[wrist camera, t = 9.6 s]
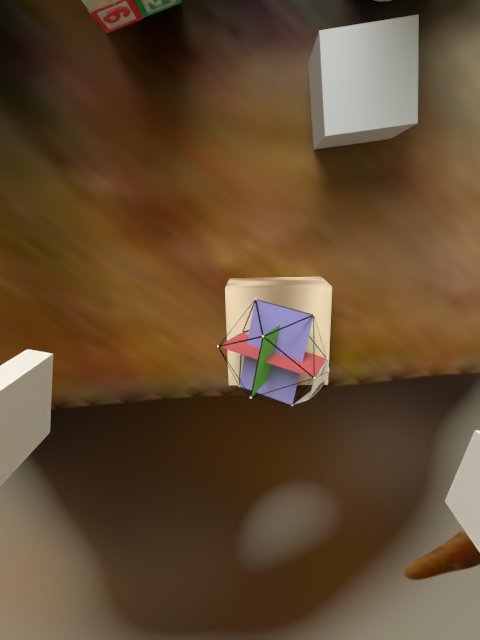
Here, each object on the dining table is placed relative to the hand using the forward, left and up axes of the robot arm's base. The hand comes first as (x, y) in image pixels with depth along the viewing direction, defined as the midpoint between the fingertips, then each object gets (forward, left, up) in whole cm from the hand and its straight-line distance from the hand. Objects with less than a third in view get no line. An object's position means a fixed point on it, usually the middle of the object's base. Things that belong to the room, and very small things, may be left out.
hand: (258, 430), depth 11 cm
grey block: (+4, +16, -22) cm, 27 cm away
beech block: (+2, -2, -22) cm, 22 cm away
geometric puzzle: (+2, -2, -17) cm, 17 cm away
